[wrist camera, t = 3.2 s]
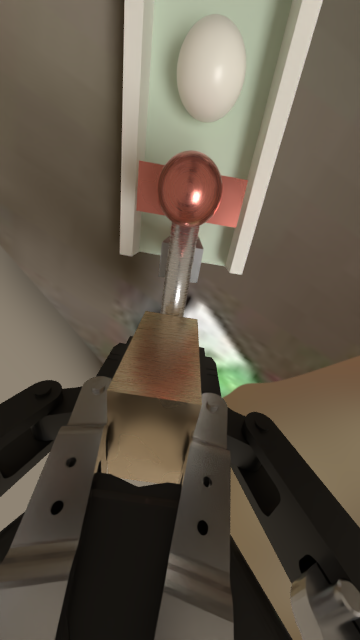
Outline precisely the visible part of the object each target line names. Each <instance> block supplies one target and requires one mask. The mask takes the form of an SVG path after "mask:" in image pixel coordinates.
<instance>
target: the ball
mask: <svg viewBox="0 0 360 640" xmlns="http://www.w3.org/2000/svg"><path fill="white" fill-rule="evenodd" d="M245 74H246V50H245V45H244V41H243V38H242V35H241V33H240V31H239V29H238V28H237V26H236V25H235V24H234V23H233V22H232V21H231V20H230V19H229V18H227V17H226V16H223V15H220V14H211V15H208V16H205V17H203V18H202V19H200V20H199V21H198V22H196V23H195V24H194V25H193V27H192V28H191V29H190V30H189V32H188V34H187V35H186V37H185V39H184V41H183V44H182V46H181V49H180V53H179V57H178V63H177V86H178V91H179V96H180V98H181V101H182V103H183V105H184V107H185V109H186V110H187V112H188V113H189V114H190V115H191V116H192V117H193V118H195V119H196V120H198V121H201V122H206V123H209V122H214V121H217V120H219V119H221V118H223V117H224V116H225V115H226V114H227V113H228V112H229V111H230V110H231V109H232V108H233V106H234V105H235V103H236V101H237V99H238V97H239V95H240V93H241V90H242V87H243V84H244V80H245Z"/></svg>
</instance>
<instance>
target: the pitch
mask: <svg viewBox="0 0 360 640" xmlns="http://www.w3.org/2000/svg"><path fill="white" fill-rule="evenodd" d="M322 1H323V0H125V5H124V57H123V109H122V162H121V214H120V254H121V255H127V256H133V255H135V254H136V253H138V252H145V253H150V254H156V255H161V256H160V265H159V275H158V277H164V278H165V274H166V265H167V257H168V249H169V241H170V233H171V225H172V221H170V220H169V219H168V218H167V217H166V216H165V215H159V214H153V213H147V212H142V211H136V208H137V188H138V168H139V161H145V162H150V163H156V164H161V165H165V164H166V163H167V162H168V161H169V160H170V159H171V158H172V157H173V156H174V155H176V154H178V153H180V152H183V151H189V150H193V151H198V152H201V153H204V154H205V155H207V156H208V157H209V158H211V159H212V160H213V162H214V163H215V164H216V166H217V167H218V169H219V172H220V174H221V175H223V176H228V177H234V178H239V179H245V180H248V183H247V187H246V191H245V195H244V199H243V203H242V207H241V211H240V215H239V218H238V222H237V226H236V228H234V227H228V226H222V225H216V224H211V223H204V224H202V225H200V227H199V232H198V238H197V244H196V249H195V255H194V260H193V266H192V271H191V277H190V282H194V283H197V280H198V275H199V270H200V265H201V262H204V263H210V264H215V265H221V266H225V267H226V268H227V270H228V271H229V273H234V274H240V275H242V272H243V269H244V265H245V262H246V258H247V255H248V252H249V248H250V245H251V241H252V238H253V235H254V231H255V228H256V225H257V221H258V218H259V214H260V211H261V208H262V204H263V201H264V198H265V194H266V191H267V187H268V184H269V181H270V177H271V174H272V170H273V167H274V164H275V160H276V157H277V154H278V150H279V147H280V143H281V140H282V137H283V133H284V130H285V127H286V123H287V120H288V116H289V113H290V110H291V106H292V103H293V99H294V96H295V93H296V89H297V86H298V83H299V79H300V76H301V72H302V69H303V66H304V62H305V59H306V56H307V52H308V49H309V45H310V42H311V39H312V35H313V32H314V28H315V25H316V22H317V18H318V15H319V12H320V8H321V5H322ZM211 14H220V15H223V16H226V17H227V18H229V19H230V20H231V21H232V22H233V23H234V24H235V25H236V26H237V28H238V29H239V31H240V33H241V35H242V38H243V41H244V45H245V50H246V74H245V80H244V84H243V87H242V90H241V93H240V95H239V97H238V99H237V101H236V103H235V105H234V106H233V108H232V109H231V110H230V111H229V112H228V113H227V114H226V115H225V116H224V117H223V118H221V119H219V120H217V121H214V122H209V123H206V122H201V121H198V120H196V119H195V118H193V117H192V116H191V115H190V114H189V113H188V112H187V110H186V109H185V107H184V105H183V103H182V101H181V98H180V96H179V91H178V86H177V63H178V57H179V53H180V49H181V46H182V44H183V41H184V39H185V37H186V35H187V34H188V32H189V30H190V29H191V28H192V27H193V25H194V24H195V23H196V22H198V21H199V20H200V19H202V18H203V17H205V16H208V15H211Z"/></svg>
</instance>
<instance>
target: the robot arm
mask: <svg viewBox="0 0 360 640" xmlns="http://www.w3.org/2000/svg"><path fill="white" fill-rule="evenodd" d="M132 338H133V336H130V337H129V339H128V341H127V343H126V344H124V343H119V344H118V345H116V346H115V347H113V349H112V351H111V352H110V354H109V356H108V357H107V359H106V361H105V362H104V364H103V366H102V367H101V369H100V371H99V372H98V374H97V376H96V377H93V378H91V379H89V380H87V381H86V382H85V383H84V384H83V386H82V387H77V388H67V389H62V386H61V385H60V383H58V382H56V381H52V380H46V381H41V382H38V383H36V384H34V385H32V386H30V387H28V388H27V389H25V390H23V391H22V392H20V393H18V394H16V395H15V396H13V397H12V398H10V399H8V400H6V401H5V402H3V403H1V404H0V497H1V496H2V495H3V494H4V493H5V492H6V491H7V490H8V489H10V488H11V487H12V486H13V485H14V484H15V483H16V482H17V481H18V480H19V479H20V478H22V477H23V476H24V475H25V474H26V473H27V472H28V471H29V470H30V469H32V468H33V467H34V466H35V465H36V464H37V463H38V462H39V461H40V460H41V459H43V458H44V457H45V456H46V455H47V454H48V453H49V452H50V453H49V456H48V458H47V461H46V463H45V466H44V468H43V470H42V473H41V475H40V477H39V480H38V482H37V485H36V487H35V489H34V492H33V494H32V496H31V499H30V502H29V504H28V506H27V509H26V511H25V512H24V513H23V514H22V515H20V516H19V517H18V518H17V519H15V520H14V521H13V522H12V523H10V524H9V525H8V526H7V527H6V528H4V529H3V530H2V531H1V532H0V640H292V638H291V636H290V634H289V633H288V631H287V629H286V628H285V626H284V624H283V623H282V621H281V619H280V618H279V616H278V614H277V613H276V611H275V609H274V607H273V606H272V604H271V602H270V601H269V599H268V597H267V596H266V594H265V592H264V591H263V589H262V587H261V585H260V584H259V582H258V581H257V579H256V577H255V575H254V574H253V572H252V570H251V569H250V567H249V565H248V564H247V562H246V560H245V558H244V557H243V555H242V553H241V552H240V550H239V548H238V547H237V545H236V543H235V542H234V540H233V538H232V536H231V535H230V469H231V468H232V470H233V472H234V474H235V475H236V477H237V479H238V481H239V483H240V485H241V487H242V489H243V491H244V493H245V495H246V497H247V499H248V500H249V502H250V504H251V506H252V508H253V510H254V512H255V514H256V516H257V518H258V520H259V521H260V524H261V525H262V527H263V529H264V531H265V533H266V535H267V537H268V539H269V541H270V543H271V545H272V546H273V548H274V550H275V552H276V554H277V556H278V558H279V560H280V562H281V564H282V566H283V567H284V570H285V572H286V574H287V575H288V577H289V579H290V581H291V583H292V586H291V592H290V599H291V606H292V611H293V614H294V617H295V621H296V624H297V626H298V628H299V630H300V633H301V635H302V639H303V640H360V528H359V527H358V525H357V524H356V523H355V522H354V520H353V519H352V518H351V517H350V516H349V514H348V513H347V512H346V511H345V510H344V508H343V507H342V506H341V504H340V503H339V502H338V501H337V500H336V498H335V497H334V496H333V495H332V493H331V492H330V491H329V490H328V489H327V487H326V486H325V485H324V484H323V482H322V481H321V480H320V479H319V478H318V476H317V475H316V474H315V473H314V471H313V470H312V469H311V468H310V467H309V465H308V464H307V463H306V462H305V460H304V459H303V458H302V457H301V455H299V453H298V452H297V451H296V449H295V448H294V447H293V446H292V445H291V443H290V442H289V441H288V440H287V438H286V437H285V436H284V435H283V433H282V432H281V431H280V430H279V429H278V427H277V426H276V425H275V424H274V422H273V421H272V420H271V419H270V418H268V417H267V416H266V415H264V414H261V413H258V412H251V413H249V414H248V415H247V416H246V417H245V416H243V415H241V414H238V413H236V412H234V411H232V410H231V409H230V408H228V407H227V404H226V402H225V401H224V399H223V398H221V392H220V386H219V380H218V374H217V368H216V363H215V362H214V360H213V359H212V357H205V351H204V348H201V347H199V359H200V378H201V397H202V406H201V410H200V413H199V417H198V420H197V424H196V427H195V430H194V431H192V432H191V436H190V440H189V445H188V449H187V453H186V457H185V461H184V463H183V464H182V468H181V472H180V477H179V481H178V484H176V483H169V482H166V483H160V484H154V485H148V486H142V487H137V486H134V485H132V484H130V483H128V482H126V481H124V480H122V479H120V478H118V477H116V476H114V475H112V474H106V472H107V464H108V440H107V429H108V418H107V389H108V387H109V385H110V383H111V381H112V379H113V377H114V375H115V373H116V371H117V369H118V367H119V365H120V363H121V361H122V359H123V357H124V355H125V352H126V350H127V348H128V346H129V344H130V342H131V340H132Z"/></svg>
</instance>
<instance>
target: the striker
mask: <svg viewBox="0 0 360 640" xmlns="http://www.w3.org/2000/svg"><path fill="white" fill-rule="evenodd" d="M247 183H248V180H245V179H239V178H234V177H228V176H223V175H221V174H220V172H219V169H218V167H217V166H216V164H215V163H214V162H213V160H212V159H211V158H209V157H208V156H207V155H205V154H204V153H201V152H198V151H193V150H189V151H183V152H180V153H178V154H176V155H174V156H173V157H172V158H171V159H170V160H169V161H168V162H167V163H166V164H165V165H161V164H156V163H150V162H145V161H139V168H138V188H137V208H136V211H142V212H147V213H153V214H159V215H165V216H166V217H167V218H168V219H169V220H170V221H172V225H171V233H170V241H169V249H168V257H167V265H166V274H165V282H164V290H163V298H162V306H161V313H154V312H148V311H146V312H145V314H144V316H143V318H142V320H141V322H140V324H139V326H138V328H137V330H136V332H135V334H134V336H133V338H132V340H131V342H130V344H129V346H128V348H127V350H126V352H125V355H124V357H123V359H122V361H121V363H120V365H119V367H118V369H117V371H116V373H115V375H114V377H113V379H112V381H111V383H110V385H109V387H108V389H107V418H108V429H107V440H108V474H112V475H114V476H116V477H118V478H124V479H131V480H138V481H146V482H153V483H159V484H160V483H166V482H169V483H176V484H178V481H179V477H180V472H181V468H182V464H183V463H184V461H185V457H186V453H187V449H188V445H189V440H190V436H191V432H192V431H194V430H195V427H196V424H197V420H198V417H199V413H200V410H201V406H202V397H201V378H200V359H199V341H198V322H197V319H191V318H185V317H183V315H184V310H185V304H186V299H187V293H188V288H189V282H190V277H191V271H192V266H193V260H194V255H195V249H196V244H197V238H198V232H199V227H200V225H202V224H204V223H211V224H216V225H222V226H228V227H234V228H236V226H237V222H238V218H239V215H240V211H241V207H242V203H243V199H244V195H245V191H246V187H247Z"/></svg>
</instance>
